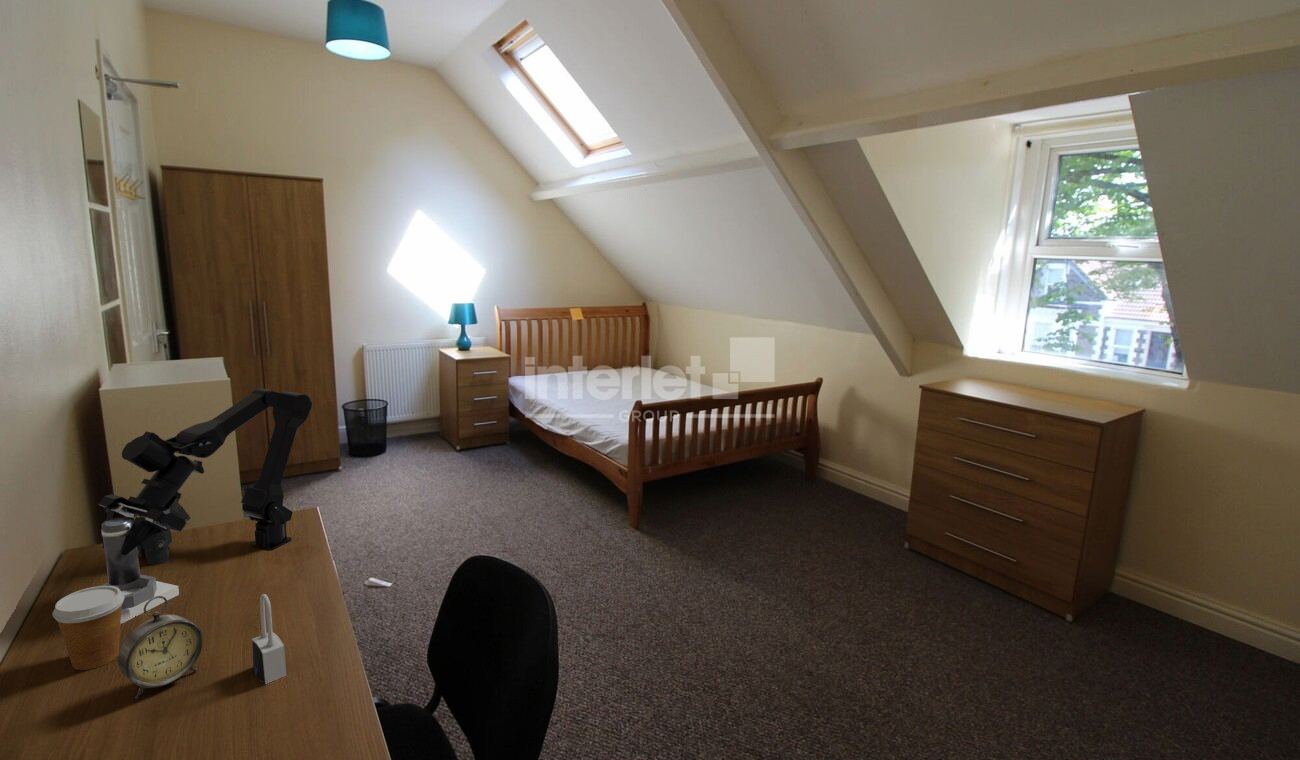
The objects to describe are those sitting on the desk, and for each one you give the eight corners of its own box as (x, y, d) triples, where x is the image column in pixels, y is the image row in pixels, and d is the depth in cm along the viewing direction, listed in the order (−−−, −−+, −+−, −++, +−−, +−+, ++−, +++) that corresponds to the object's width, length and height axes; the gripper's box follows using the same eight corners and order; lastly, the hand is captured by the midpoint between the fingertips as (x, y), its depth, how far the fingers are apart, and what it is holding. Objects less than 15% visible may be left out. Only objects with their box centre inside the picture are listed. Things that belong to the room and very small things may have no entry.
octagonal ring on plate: (143, 586, 136) (141, 567, 135) (179, 594, 134) (177, 575, 133) (70, 620, 123) (67, 599, 122) (108, 630, 121) (106, 608, 120)
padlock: (249, 668, 112) (244, 592, 109) (275, 658, 115) (271, 583, 112) (262, 686, 108) (257, 607, 105) (289, 675, 111) (284, 598, 108)
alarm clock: (131, 707, 101) (121, 616, 98) (117, 694, 104) (107, 605, 101) (207, 672, 110) (200, 588, 107) (193, 661, 113) (185, 578, 110)
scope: (166, 494, 152) (180, 505, 146) (171, 547, 154) (185, 560, 148) (123, 503, 145) (136, 515, 139) (129, 558, 148) (142, 572, 142)
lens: (141, 570, 131) (134, 514, 129) (140, 581, 127) (134, 523, 125) (108, 577, 128) (101, 519, 125) (107, 588, 124) (99, 529, 121)
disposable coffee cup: (81, 682, 106) (73, 618, 104) (47, 667, 109) (38, 604, 107) (142, 651, 115) (136, 591, 113) (109, 638, 118) (102, 579, 116)
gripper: (225, 505, 136) (178, 575, 128) (166, 491, 142) (117, 556, 134) (185, 483, 128) (131, 556, 119) (124, 468, 134) (69, 537, 125)
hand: (113, 551), depth 125 cm, fingers closed on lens, 5 cm apart
